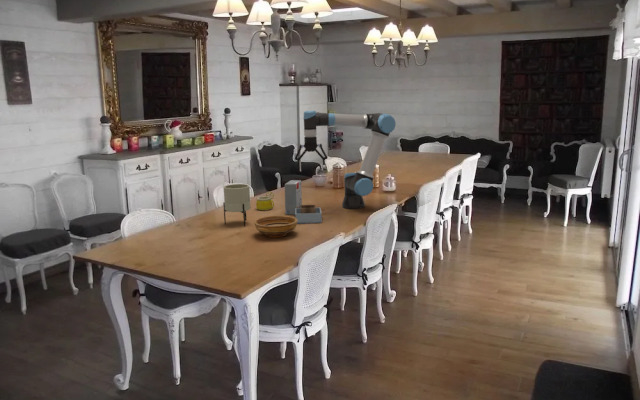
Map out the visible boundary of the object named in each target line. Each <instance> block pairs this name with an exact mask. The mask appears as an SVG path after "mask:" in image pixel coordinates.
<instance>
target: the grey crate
mask: <svg viewBox="0 0 640 400" xmlns="http://www.w3.org/2000/svg"><path fill="white" fill-rule="evenodd" d="M294 216H295V218H297V219H298V221H297V225H302V224H303V225H304V224H306V225H307V224H322V223H323V221H322V218H323V217H322V209H321V207H316V213H307V214H301V208H295V215H294Z"/></svg>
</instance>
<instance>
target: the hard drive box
mask: <svg viewBox="0 0 640 400" xmlns="http://www.w3.org/2000/svg"><path fill="white" fill-rule="evenodd" d="M302 200H303V198H302V180H300V179H299V180H298V179H297V180H296V179H292V180H291V179H290V180H289V181H288V182H286V183H285V184H284V212H285V213H284V215H294V216H295V208H301V205H303V201H302Z"/></svg>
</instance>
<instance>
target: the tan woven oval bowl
mask: <svg viewBox="0 0 640 400" xmlns="http://www.w3.org/2000/svg"><path fill="white" fill-rule="evenodd" d="M297 221H298V219H297V218H295V217H294V216H289V215H268V216H263V217H259V218H256V219H255V220H254V221H253V224H254V226H255V229H256V230H257V231H258V232H260V233H262V234H264V235H266V236H267V237H270V238H281V237H284V236H286V235H287V234H288V233H290V232H293V230H295V229H296V227H297V225H298V224H297Z"/></svg>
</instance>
